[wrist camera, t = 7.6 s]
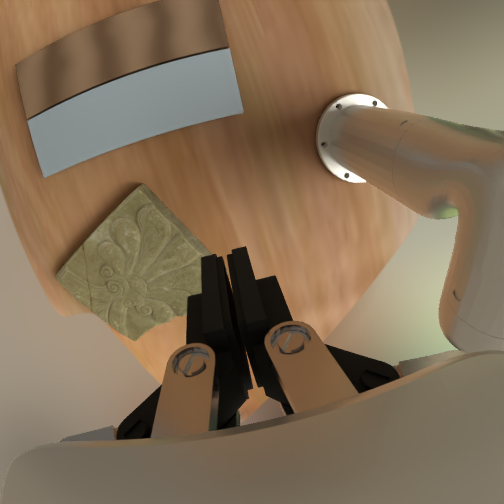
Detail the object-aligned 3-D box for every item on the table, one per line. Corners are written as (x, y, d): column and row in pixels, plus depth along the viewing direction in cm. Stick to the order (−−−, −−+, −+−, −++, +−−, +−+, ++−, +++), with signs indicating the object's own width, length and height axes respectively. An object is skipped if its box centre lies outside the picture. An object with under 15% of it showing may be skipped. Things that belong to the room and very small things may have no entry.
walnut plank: (214, -6, 26) (215, -12, 24) (227, 49, 30) (229, 46, 28) (23, 65, 25) (15, 65, 23) (35, 117, 29) (26, 119, 27)
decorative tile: (58, 269, 41) (50, 281, 37) (142, 179, 37) (137, 187, 34) (143, 338, 49) (141, 352, 46) (232, 271, 46) (235, 285, 43)
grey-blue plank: (228, 51, 30) (229, 48, 29) (241, 112, 34) (243, 112, 32) (34, 119, 29) (27, 121, 27) (50, 174, 33) (44, 178, 31)
